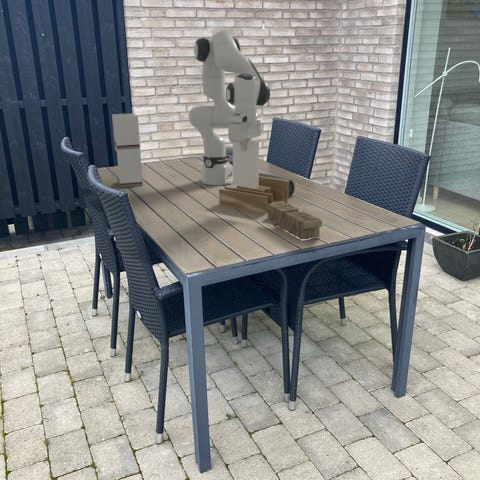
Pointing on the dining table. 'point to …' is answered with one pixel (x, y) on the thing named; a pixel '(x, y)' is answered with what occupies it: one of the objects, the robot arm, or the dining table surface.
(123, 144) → the grey stacked pillar
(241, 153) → the white rectangular panel
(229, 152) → the light bulb box
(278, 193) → the rack
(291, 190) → the bluetooth speaker
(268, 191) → the offcut top
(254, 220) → the dining table surface
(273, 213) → the block tower
